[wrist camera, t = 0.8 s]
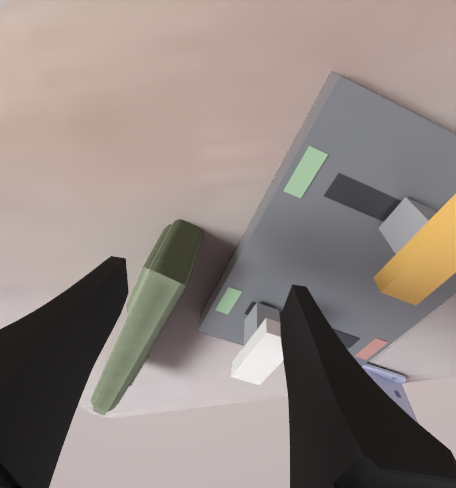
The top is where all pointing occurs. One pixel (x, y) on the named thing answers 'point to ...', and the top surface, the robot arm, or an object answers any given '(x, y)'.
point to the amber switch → (418, 250)
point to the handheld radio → (148, 310)
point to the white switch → (259, 345)
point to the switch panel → (339, 220)
